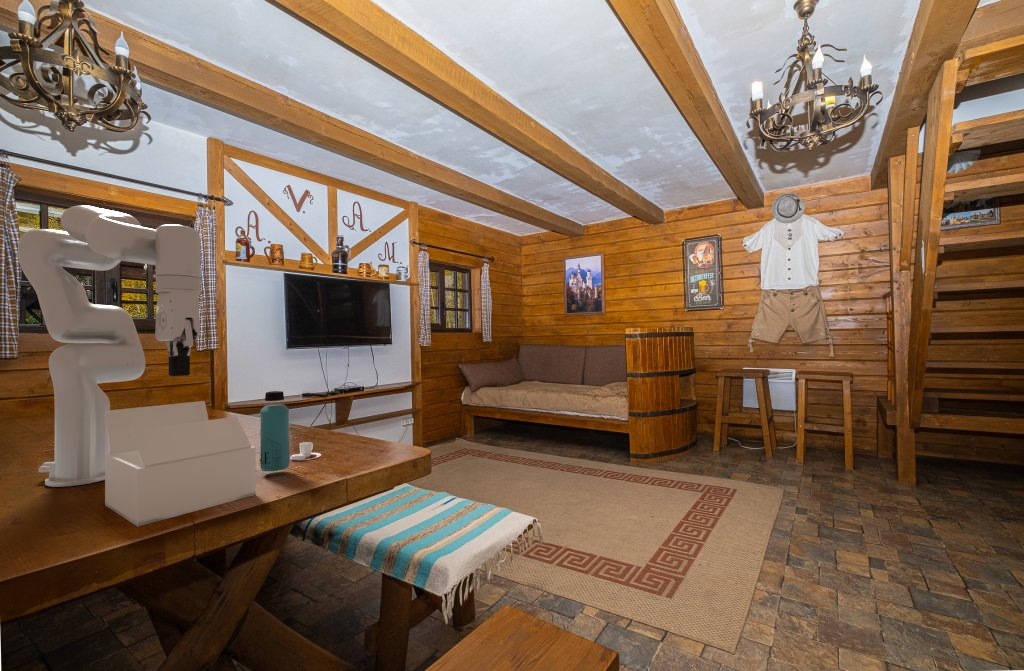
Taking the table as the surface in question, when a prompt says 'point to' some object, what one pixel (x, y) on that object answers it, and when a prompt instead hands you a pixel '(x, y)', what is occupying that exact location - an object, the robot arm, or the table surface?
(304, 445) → the teacup and saucer
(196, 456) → the near flap
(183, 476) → the carton
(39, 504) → the table surface
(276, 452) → the beverage bottle
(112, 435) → the far flap
